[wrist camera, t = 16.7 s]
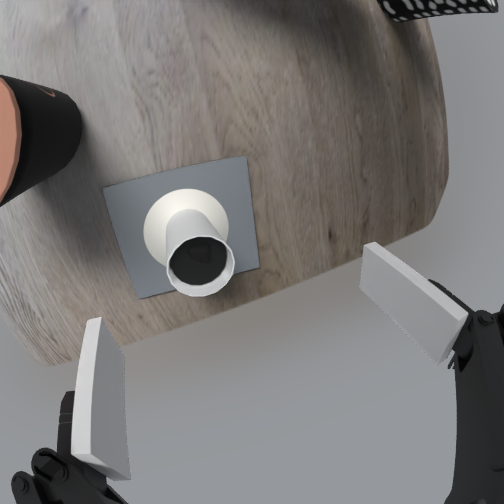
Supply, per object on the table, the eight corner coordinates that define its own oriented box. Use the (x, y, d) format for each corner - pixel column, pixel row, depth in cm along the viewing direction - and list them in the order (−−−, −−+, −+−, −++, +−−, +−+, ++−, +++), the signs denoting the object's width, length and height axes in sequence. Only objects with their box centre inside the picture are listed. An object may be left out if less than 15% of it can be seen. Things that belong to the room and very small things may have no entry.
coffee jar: (88, 85, 24) (26, 53, 9) (83, 172, 29) (22, 219, 13) (15, 98, 21) (-74, 94, 5) (13, 179, 25) (-70, 230, 10)
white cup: (159, 208, 33) (161, 240, 24) (212, 202, 35) (233, 229, 26) (165, 258, 36) (171, 301, 27) (215, 250, 38) (236, 290, 29)
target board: (103, 187, 30) (101, 189, 29) (244, 155, 34) (246, 155, 34) (138, 296, 38) (138, 299, 37) (257, 264, 42) (260, 267, 41)
